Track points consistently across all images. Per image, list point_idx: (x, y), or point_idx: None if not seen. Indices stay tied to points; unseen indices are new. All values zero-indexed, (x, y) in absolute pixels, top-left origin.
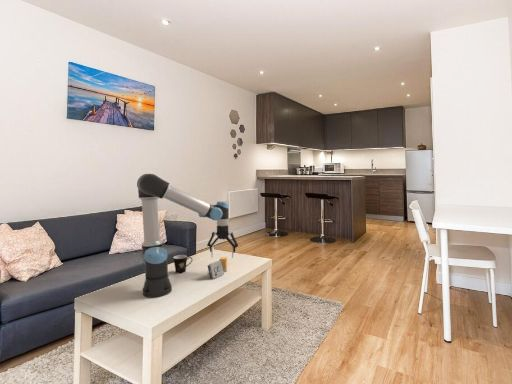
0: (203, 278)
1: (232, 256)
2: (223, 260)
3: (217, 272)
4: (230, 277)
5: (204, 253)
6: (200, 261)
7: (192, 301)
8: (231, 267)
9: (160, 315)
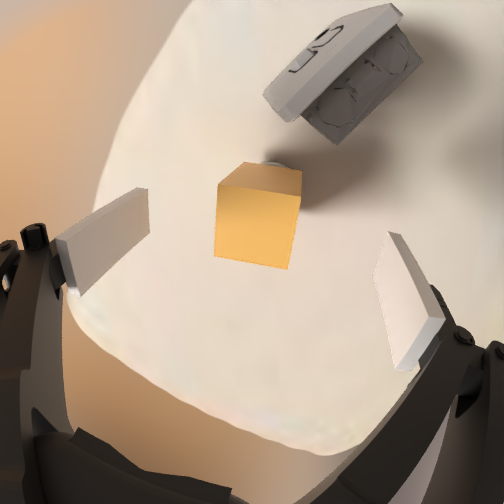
0: None
1: (133, 192)
2: (253, 184)
3: (310, 47)
4: (208, 47)
5: (364, 437)
6: None
7: None
8: None
9: None
